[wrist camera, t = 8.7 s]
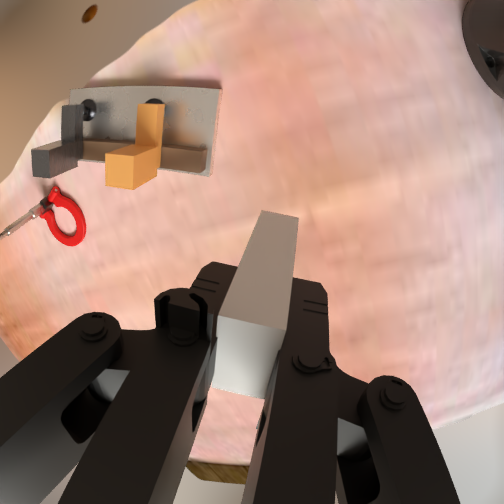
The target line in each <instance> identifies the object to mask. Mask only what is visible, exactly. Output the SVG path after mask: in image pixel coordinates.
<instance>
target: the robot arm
mask: <svg viewBox="0 0 504 504" xmlns="http://www.w3.org/2000/svg"><path fill="white" fill-rule="evenodd" d="M463 34H464V39H465V43H466V47H467V50H468V52H469V55H470V57H471V60H472V62H473V64H474V65H475V67H476V69H477V71H478V72H479V74H480V75H481V77H482V78H483V80H484V81H485V82H486V84H487V85H488V86H489V87H490V88H491V89H492V90H493V91H494V92H495V93H496V94H497V95H499V96H500V97H501V98H503V99H504V0H470V1H469V2H468V4H467V5H466V7H465V10H464V14H463ZM298 220H299V218H297V217H293V216H288V215H283V214H278V213H273V212H268V211H263V210H262V211H261V213H260V216H259V218H258V220H257V223H256V225H255V228H254V230H253V232H252V235H251V237H250V240H249V242H248V244H247V247H246V249H245V251H244V254H243V256H242V259H241V261H240V263H239V266H238V267H236V266H232V265H227V264H223V263H218V262H211V263H209V264H208V265H206V266H204V267H203V268H202V269H201V270H200V272H199V274H198V275H197V277H196V279H195V280H194V282H193V284H192V286H191V287H190V289H188V288H176V289H169V290H167V291H165V292H162V293H160V294H159V295H158V296H157V297H156V298H155V299H154V306H155V320H156V328H155V329H151V330H124V329H121V327H120V325H119V322H118V321H117V320H116V319H115V318H114V317H113V316H111V315H109V314H106V313H102V312H92V313H87V314H84V315H82V316H80V317H78V318H76V319H75V320H74V321H72V322H71V323H70V324H68V325H67V326H66V327H64V328H63V329H62V330H60V331H59V332H58V333H56V334H55V335H54V336H52V337H51V338H50V339H49V340H47V341H46V342H45V343H43V344H42V345H41V346H40V347H38V348H37V349H36V350H34V351H33V352H32V353H31V354H29V355H28V356H27V357H26V358H24V359H23V360H22V361H21V362H19V363H18V364H17V365H16V366H14V367H13V368H12V369H11V370H9V371H8V372H7V373H6V374H5V375H3V376H2V377H1V378H0V504H40V503H41V502H42V501H43V499H44V498H45V497H46V496H47V495H48V494H49V493H50V492H51V491H52V490H53V489H54V488H55V487H56V486H57V485H58V484H59V483H60V482H61V481H62V480H63V478H64V477H65V476H66V475H67V474H68V473H69V472H70V471H71V470H72V469H73V468H74V467H75V466H76V465H77V464H78V465H77V467H76V469H75V471H74V473H73V474H72V476H71V479H70V480H69V482H68V484H67V486H66V488H65V490H64V492H63V494H62V496H61V498H60V500H59V502H58V504H173V501H174V498H175V495H176V492H177V489H178V486H179V484H180V481H181V478H182V475H183V472H184V469H185V466H186V463H187V460H188V457H189V454H190V452H191V449H192V446H193V443H194V440H195V437H196V434H197V431H198V428H199V425H200V422H201V419H202V416H203V413H204V410H205V407H206V405H207V394H208V391H209V388H210V385H211V382H212V387H213V388H217V389H221V390H225V391H229V392H233V393H237V394H242V395H246V396H251V397H256V398H260V399H265V402H264V407H263V410H262V412H261V415H260V418H259V421H258V424H257V427H256V429H258V430H257V434H256V439H255V444H254V449H253V453H252V458H251V463H250V467H249V472H248V476H247V481H246V485H245V489H244V494H243V499H242V502H241V504H335V491H336V494H337V498H338V503H339V504H460V501H459V498H458V495H457V493H456V490H455V487H454V484H453V481H452V479H451V476H450V473H449V471H448V468H447V466H446V463H445V460H444V458H443V455H442V453H441V450H440V448H439V445H438V443H437V440H436V438H435V436H434V434H433V431H432V429H431V426H430V424H429V422H428V419H427V417H426V415H425V413H424V410H423V408H422V406H421V404H420V402H419V400H418V397H417V395H416V393H415V392H414V390H413V389H412V387H411V386H410V385H409V384H407V383H406V382H405V381H404V380H402V379H400V378H397V377H394V376H386V375H383V376H380V377H376V378H375V379H373V380H372V381H371V382H370V383H369V384H368V383H366V382H364V381H361V380H359V379H356V378H354V377H352V376H350V375H348V374H346V373H344V372H343V371H342V370H341V369H339V368H338V367H337V365H336V361H335V359H334V357H333V356H332V355H331V353H330V350H329V320H328V307H327V306H328V297H327V292H326V291H325V289H324V288H323V286H322V285H321V283H318V282H313V281H308V280H303V279H298V278H294V277H293V270H294V260H295V251H296V241H297V231H298Z"/></svg>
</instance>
